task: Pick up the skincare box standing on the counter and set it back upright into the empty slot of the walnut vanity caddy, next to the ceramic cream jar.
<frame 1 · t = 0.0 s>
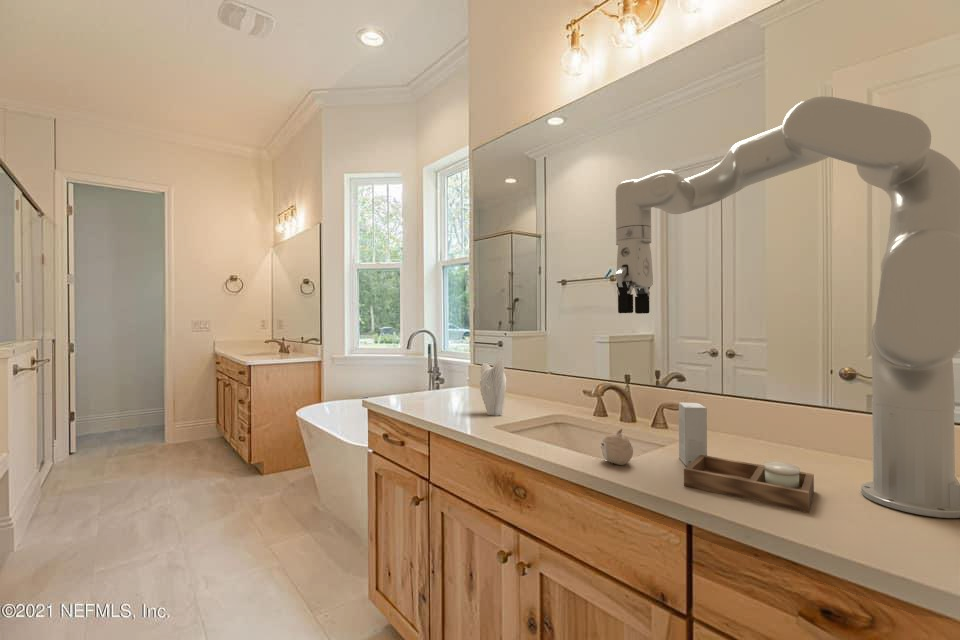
hand: (634, 313, 101), 31 cm above the countertop, tool pointing down, fingers open, 9 cm apart
cream jar: (781, 495, 76), resting on walnut caddy
skincare box: (692, 463, 93), on the countertop
walnut caddy: (747, 488, 79), on the countertop
shell sculpture: (493, 415, 142), on the countertop
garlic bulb: (617, 464, 94), on the countertop
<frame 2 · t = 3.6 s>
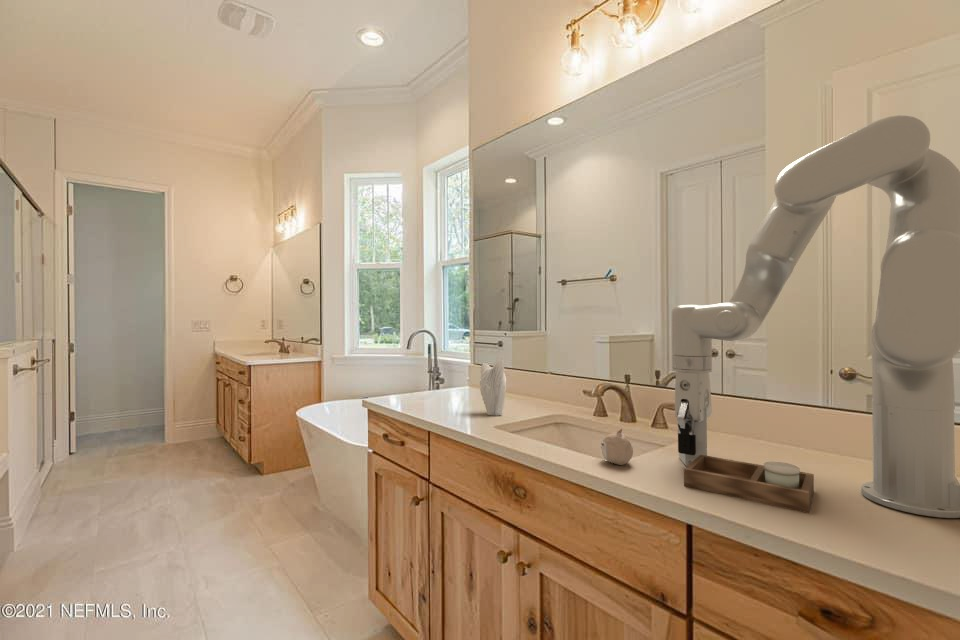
hand: (692, 448, 94), 3 cm above the countertop, tool pointing down, fingers closed on skincare box, 7 cm apart
skincare box: (692, 463, 94), on the countertop, touching gripper
everything else where it was.
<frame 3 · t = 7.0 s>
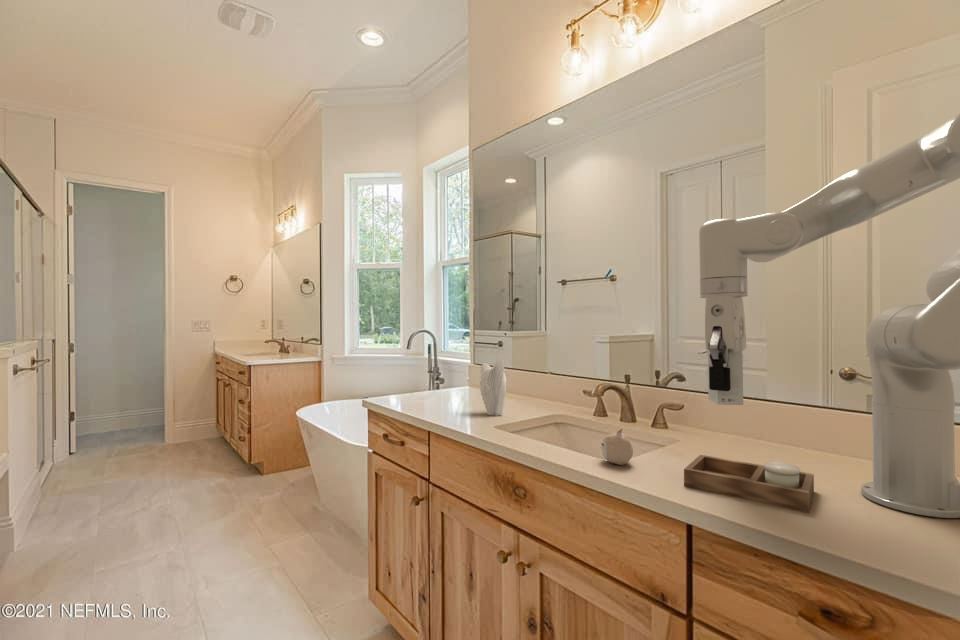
hand: (725, 386, 81), 17 cm above the countertop, tool pointing down, fingers closed on skincare box, 7 cm apart
skincare box: (725, 403, 81), point 14 cm above the countertop, touching gripper
everything else where it was.
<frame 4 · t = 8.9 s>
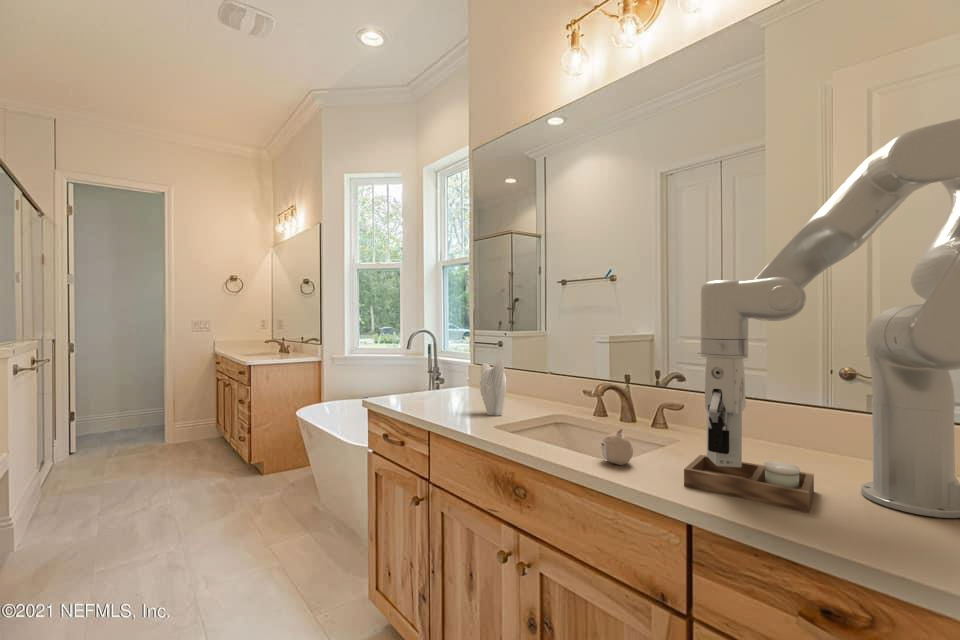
hand: (723, 446, 81), 7 cm above the countertop, tool pointing down, fingers closed on skincare box, 7 cm apart
skincare box: (723, 463, 81), point 4 cm above the countertop, touching gripper
everything else where it was.
when the fingers open (4 cm above the countertop, at t = 10.4 s): skincare box drops 1 cm, resting on walnut caddy.
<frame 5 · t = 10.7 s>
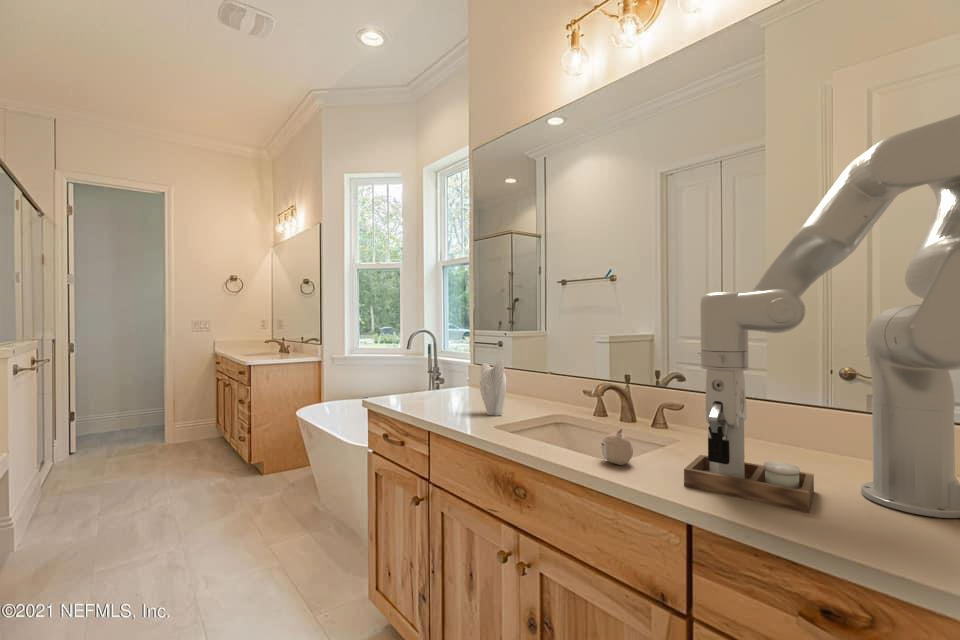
hand: (725, 455, 81), 5 cm above the countertop, tool pointing down, fingers open, 9 cm apart
skincare box: (726, 481, 81), resting on walnut caddy
everything else where it was.
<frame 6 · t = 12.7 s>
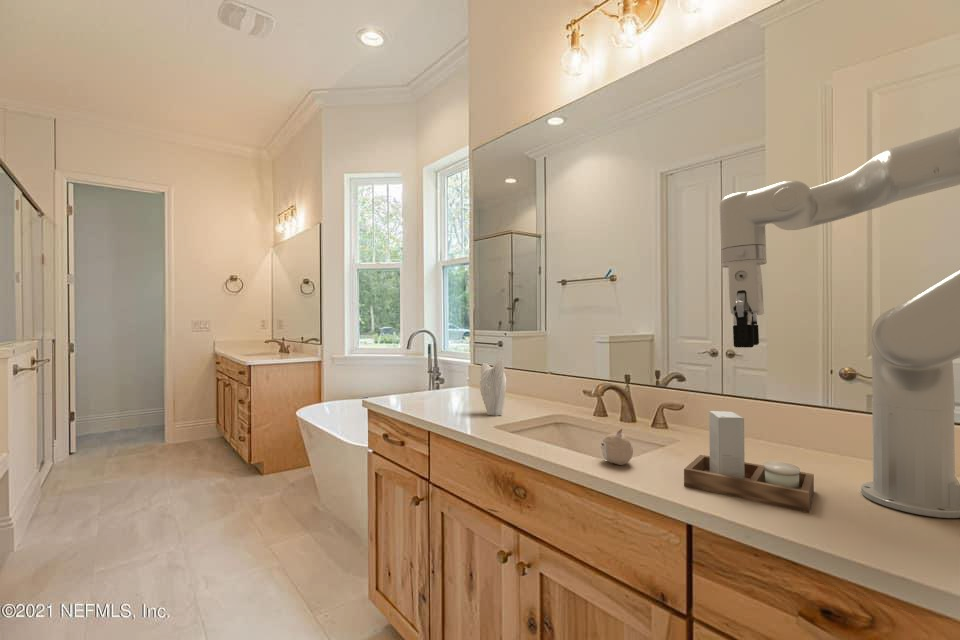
hand: (746, 346, 87), 24 cm above the countertop, tool pointing down, fingers open, 9 cm apart
nothing on the countertop moved.
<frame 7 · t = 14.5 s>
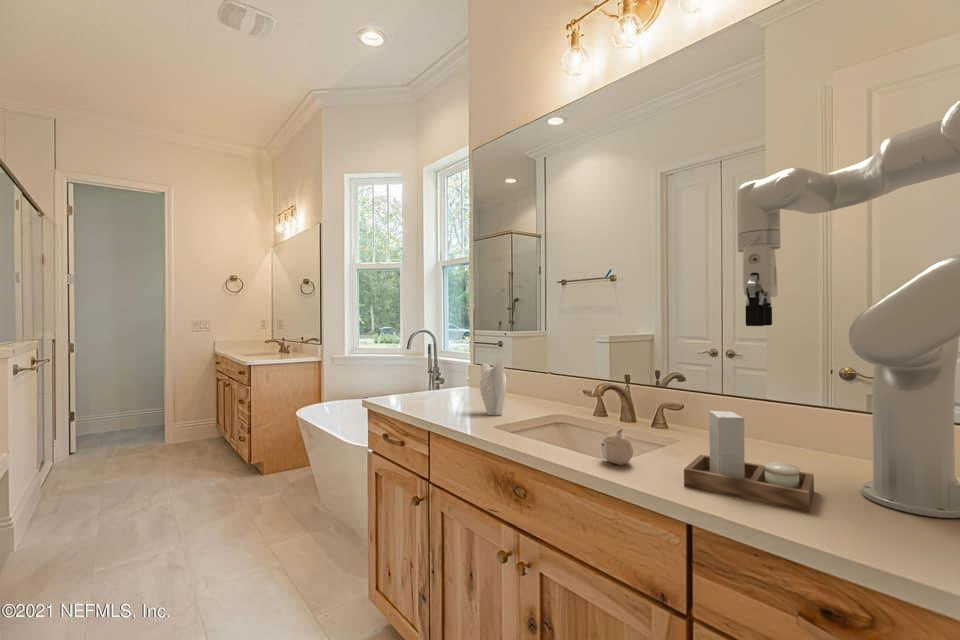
hand: (759, 325, 93), 28 cm above the countertop, tool pointing down, fingers open, 9 cm apart
nothing on the countertop moved.
at the end: skincare box inside the target area (0.4 cm from its centre), resting on walnut caddy; skincare box tilted 0°; the gripper is holding nothing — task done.
